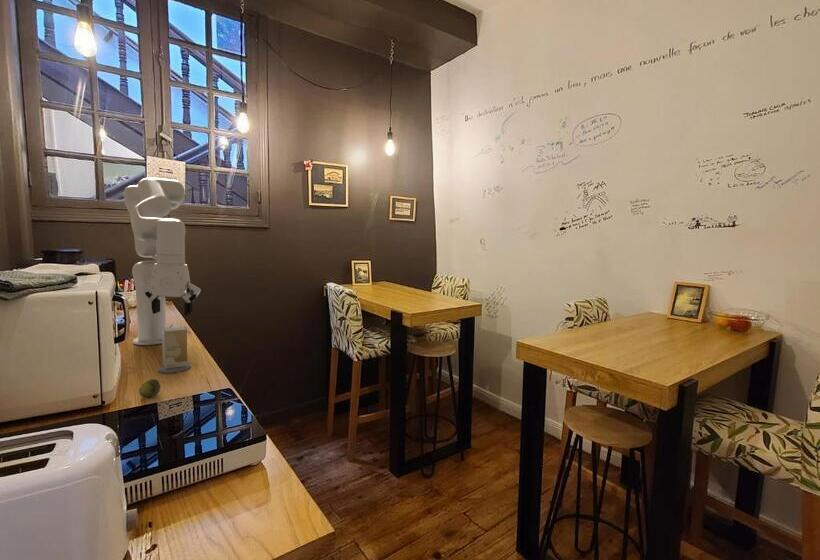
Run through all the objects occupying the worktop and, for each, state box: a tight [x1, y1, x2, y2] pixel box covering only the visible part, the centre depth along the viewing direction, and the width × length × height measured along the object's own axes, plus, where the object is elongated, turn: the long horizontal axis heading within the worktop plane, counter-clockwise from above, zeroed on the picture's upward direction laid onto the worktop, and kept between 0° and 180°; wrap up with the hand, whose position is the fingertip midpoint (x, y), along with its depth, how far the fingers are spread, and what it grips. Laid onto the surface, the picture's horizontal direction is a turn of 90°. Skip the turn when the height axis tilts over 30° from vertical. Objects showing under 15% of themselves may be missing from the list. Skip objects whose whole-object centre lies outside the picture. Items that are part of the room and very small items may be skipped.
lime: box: [138, 378, 161, 399], centre depth 107 cm, size 4×5×5 cm
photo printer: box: [161, 323, 181, 365], centre depth 136 cm, size 10×4×12 cm, turn 17°
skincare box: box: [163, 326, 188, 369], centre depth 128 cm, size 6×4×12 cm
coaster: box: [157, 362, 192, 375], centre depth 128 cm, size 9×9×1 cm
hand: (172, 313), depth 127 cm, fingers open, 9 cm apart
